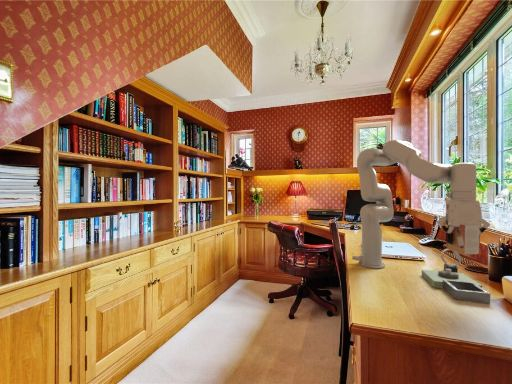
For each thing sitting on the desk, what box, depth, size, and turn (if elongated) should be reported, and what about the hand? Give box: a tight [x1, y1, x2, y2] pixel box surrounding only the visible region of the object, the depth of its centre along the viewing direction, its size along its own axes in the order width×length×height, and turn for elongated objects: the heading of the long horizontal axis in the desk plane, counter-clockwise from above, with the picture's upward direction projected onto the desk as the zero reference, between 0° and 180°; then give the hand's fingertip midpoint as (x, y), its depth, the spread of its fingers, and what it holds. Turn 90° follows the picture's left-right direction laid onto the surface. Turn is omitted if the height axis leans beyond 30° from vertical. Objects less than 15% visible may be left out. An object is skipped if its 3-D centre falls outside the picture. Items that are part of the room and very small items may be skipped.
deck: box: [421, 268, 483, 289], centre depth 111 cm, size 16×16×6 cm
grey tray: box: [442, 279, 491, 305], centre depth 97 cm, size 10×12×4 cm
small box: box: [446, 224, 480, 255], centre depth 97 cm, size 8×6×10 cm
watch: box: [440, 248, 462, 273], centre depth 126 cm, size 6×8×11 cm
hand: (462, 244), depth 97 cm, fingers closed on small box, 7 cm apart
